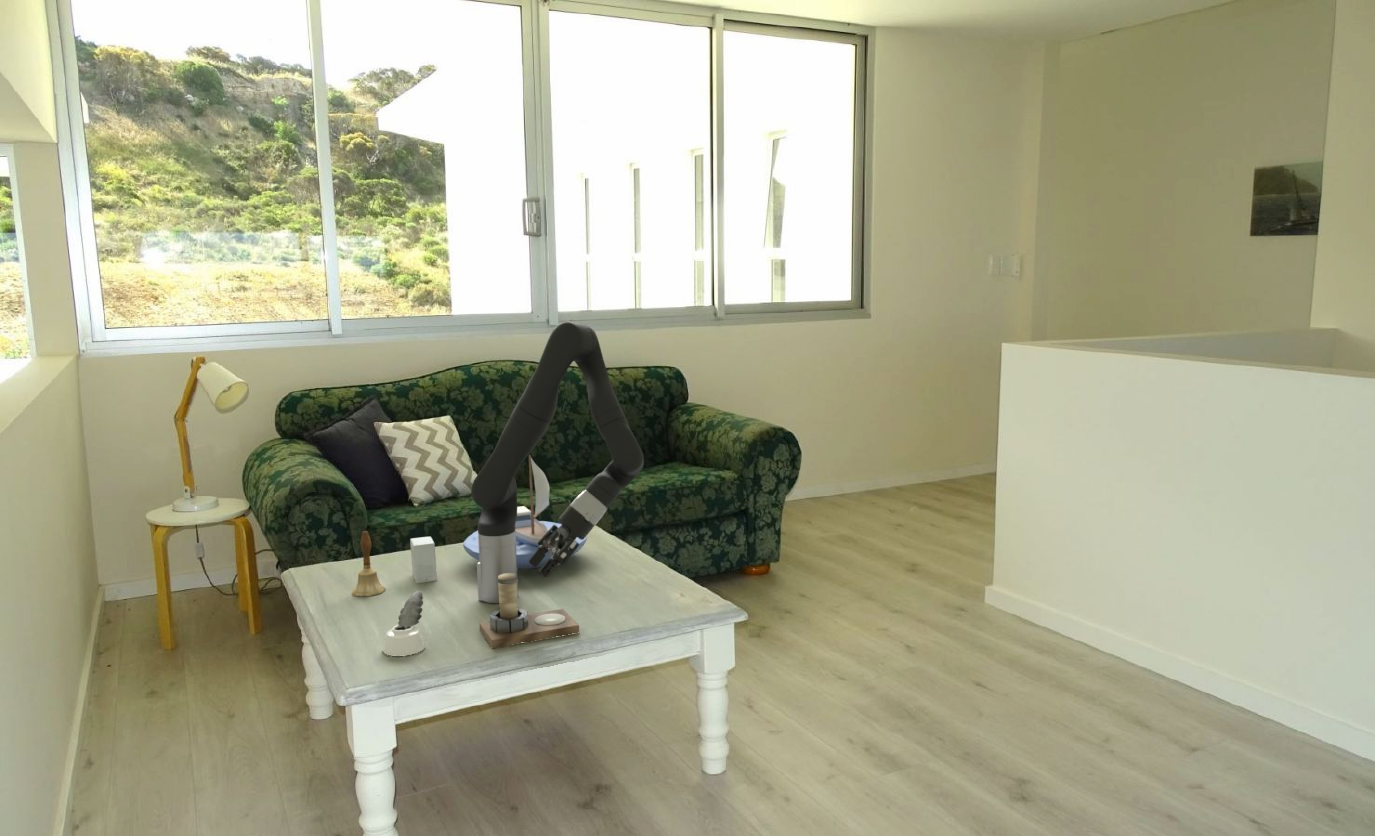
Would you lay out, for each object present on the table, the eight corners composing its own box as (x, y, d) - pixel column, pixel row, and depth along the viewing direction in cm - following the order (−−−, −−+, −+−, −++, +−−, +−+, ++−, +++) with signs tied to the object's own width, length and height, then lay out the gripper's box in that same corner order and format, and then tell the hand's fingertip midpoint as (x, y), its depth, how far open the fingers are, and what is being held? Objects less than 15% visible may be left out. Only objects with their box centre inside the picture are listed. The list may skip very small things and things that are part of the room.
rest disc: (530, 624, 223) (530, 623, 223) (540, 614, 230) (540, 613, 230) (560, 626, 222) (560, 625, 222) (568, 615, 229) (568, 614, 229)
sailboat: (480, 589, 255) (474, 467, 250) (452, 555, 287) (446, 446, 282) (605, 570, 270) (601, 455, 265) (565, 539, 301) (562, 435, 296)
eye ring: (486, 632, 219) (485, 619, 219) (498, 620, 227) (498, 607, 226) (520, 634, 218) (520, 621, 217) (532, 621, 226) (531, 609, 225)
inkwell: (376, 657, 211) (373, 613, 210) (401, 627, 229) (398, 586, 228) (419, 657, 211) (416, 612, 210) (440, 626, 229) (438, 585, 228)
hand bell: (349, 589, 257) (345, 530, 255) (382, 584, 261) (378, 526, 258) (354, 598, 250) (350, 537, 247) (388, 593, 253) (384, 533, 251)
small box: (437, 581, 263) (435, 543, 261) (415, 584, 261) (413, 545, 259) (433, 572, 270) (431, 535, 268) (412, 575, 268) (410, 538, 266)
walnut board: (492, 648, 215) (491, 640, 215) (479, 630, 226) (479, 622, 226) (579, 633, 223) (579, 624, 223) (563, 616, 234) (562, 608, 234)
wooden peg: (497, 629, 221) (495, 578, 219) (503, 623, 225) (501, 572, 223) (515, 630, 220) (512, 579, 218) (521, 624, 224) (518, 573, 222)
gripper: (562, 498, 231) (516, 552, 228) (581, 511, 218) (533, 568, 215) (584, 517, 234) (539, 570, 231) (604, 531, 221) (557, 588, 218)
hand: (536, 569), depth 223 cm, fingers open, 8 cm apart
